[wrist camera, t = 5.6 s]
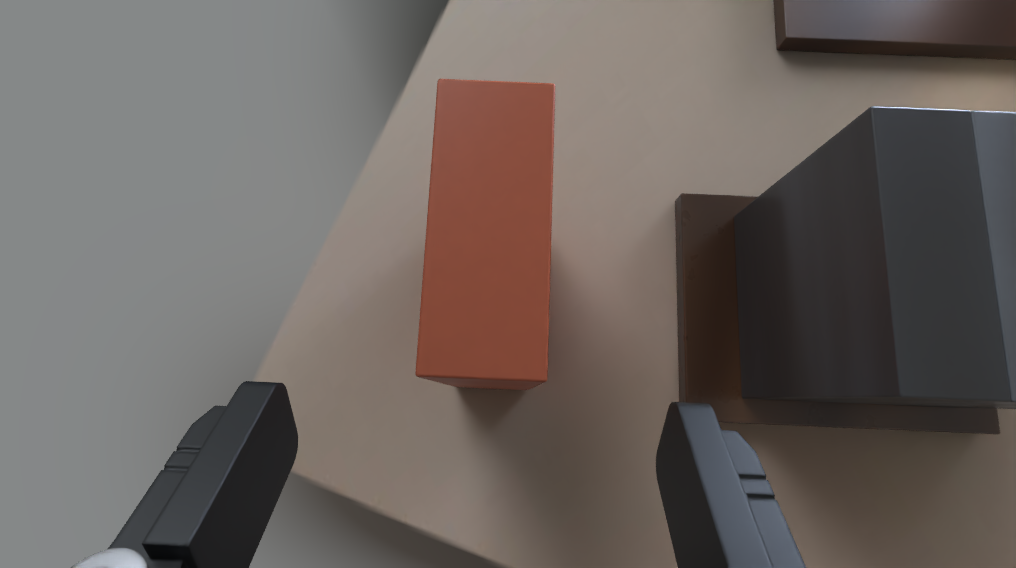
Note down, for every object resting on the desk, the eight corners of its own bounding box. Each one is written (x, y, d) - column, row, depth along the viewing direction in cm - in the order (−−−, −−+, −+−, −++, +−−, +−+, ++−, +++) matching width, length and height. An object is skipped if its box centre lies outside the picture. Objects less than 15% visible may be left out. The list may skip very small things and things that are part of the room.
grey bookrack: (679, 420, 24) (810, 435, 14) (674, 200, 26) (786, 69, 16) (981, 433, 24) (1342, 457, 14) (952, 212, 26) (1247, 88, 16)
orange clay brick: (455, 387, 24) (414, 376, 13) (465, 212, 26) (437, 77, 15) (528, 390, 24) (547, 382, 13) (534, 215, 26) (555, 82, 15)
